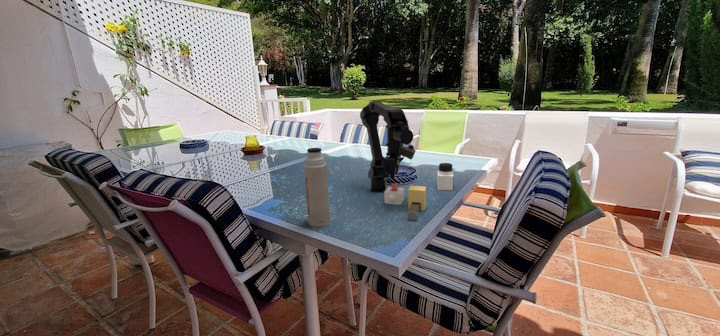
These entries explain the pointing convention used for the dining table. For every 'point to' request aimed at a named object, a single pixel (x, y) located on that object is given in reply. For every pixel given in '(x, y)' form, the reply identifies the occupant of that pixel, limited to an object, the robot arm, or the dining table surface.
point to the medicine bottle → (445, 177)
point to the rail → (414, 211)
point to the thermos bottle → (316, 188)
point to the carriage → (417, 196)
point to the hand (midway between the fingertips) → (394, 176)
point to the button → (394, 186)
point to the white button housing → (394, 196)
